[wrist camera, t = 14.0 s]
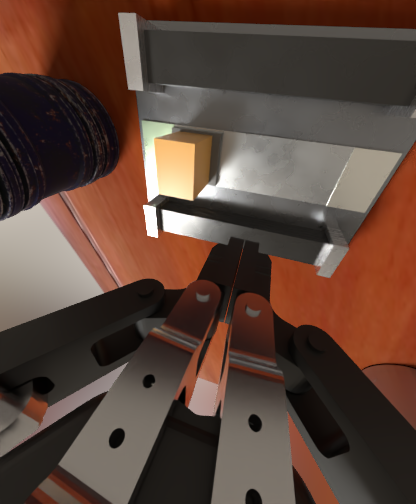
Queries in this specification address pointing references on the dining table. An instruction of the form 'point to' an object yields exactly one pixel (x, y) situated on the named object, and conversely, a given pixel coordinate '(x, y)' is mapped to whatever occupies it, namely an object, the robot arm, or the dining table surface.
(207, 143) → the toggle
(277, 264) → the dining table surface
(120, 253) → the dining table surface
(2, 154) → the dark blue cylinder
